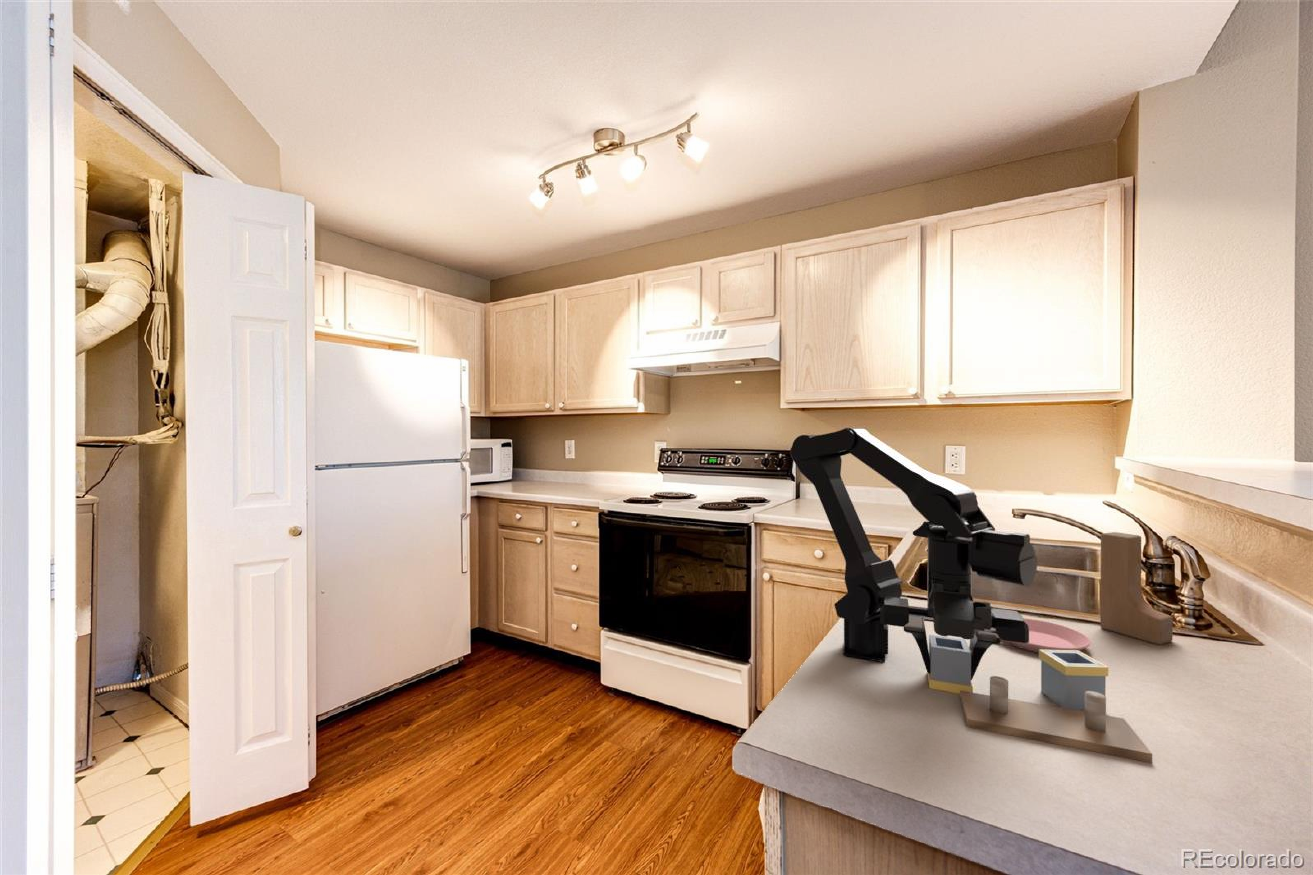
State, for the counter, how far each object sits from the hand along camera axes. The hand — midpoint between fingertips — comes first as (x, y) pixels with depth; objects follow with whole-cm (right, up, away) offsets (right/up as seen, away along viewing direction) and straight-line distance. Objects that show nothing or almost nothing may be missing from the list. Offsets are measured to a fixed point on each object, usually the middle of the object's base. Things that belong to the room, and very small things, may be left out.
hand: (949, 675), depth 78 cm
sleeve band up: (+14, -1, -5) cm, 15 cm away
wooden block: (+44, -1, +18) cm, 48 cm away
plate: (+24, -1, +15) cm, 29 cm away
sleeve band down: (0, -1, 0) cm, 1 cm away
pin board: (+6, -1, -11) cm, 13 cm away
